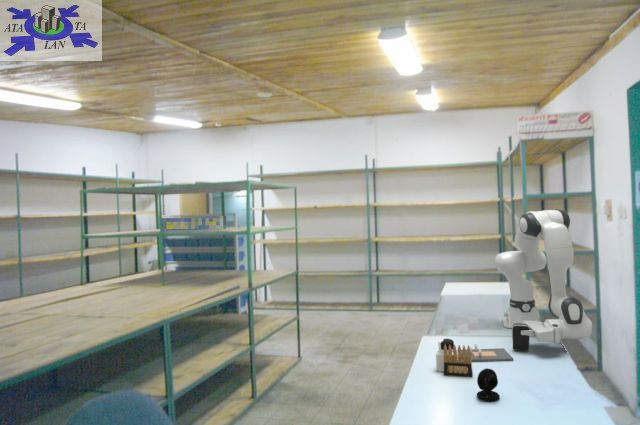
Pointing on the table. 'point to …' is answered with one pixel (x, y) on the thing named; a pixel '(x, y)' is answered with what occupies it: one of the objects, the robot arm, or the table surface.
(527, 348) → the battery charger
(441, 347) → the medicine bottle
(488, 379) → the webcam
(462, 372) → the ammunition clip
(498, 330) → the table surface
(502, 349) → the dock
